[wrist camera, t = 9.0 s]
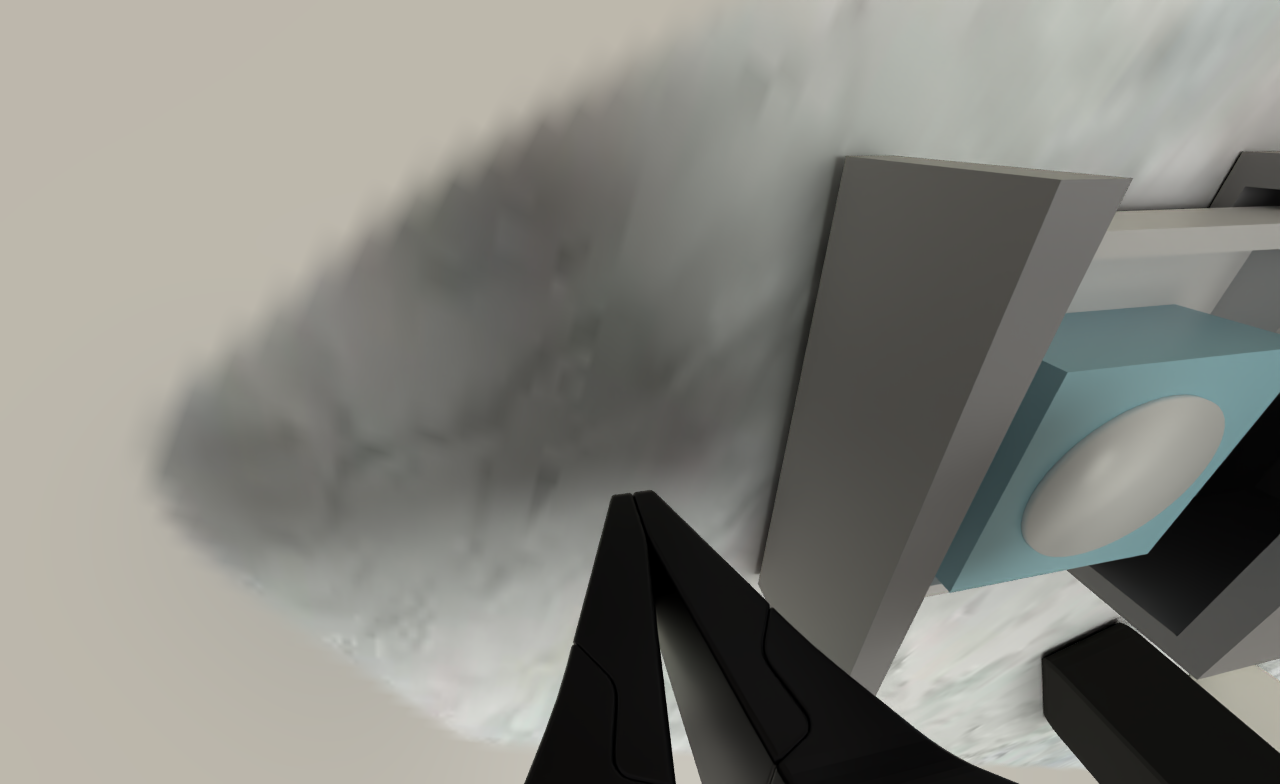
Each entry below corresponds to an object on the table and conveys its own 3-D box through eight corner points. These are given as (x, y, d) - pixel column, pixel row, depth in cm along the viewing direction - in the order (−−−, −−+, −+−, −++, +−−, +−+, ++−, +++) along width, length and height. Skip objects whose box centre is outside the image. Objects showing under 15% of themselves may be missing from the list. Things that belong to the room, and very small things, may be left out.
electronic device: (1042, 719, 28) (1257, 971, 20) (1040, 652, 23) (1330, 957, 15) (1107, 689, 28) (1354, 934, 20) (1119, 614, 23) (1464, 905, 14)
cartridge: (1174, 304, 11) (1330, 348, 9) (1059, 491, 14) (1154, 558, 12) (959, 322, 10) (1075, 376, 8) (885, 519, 13) (954, 598, 11)
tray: (1285, 152, 11) (1662, 167, 7) (1043, 532, 17) (1180, 642, 13) (845, 156, 9) (1060, 180, 5) (758, 583, 15) (827, 727, 11)
